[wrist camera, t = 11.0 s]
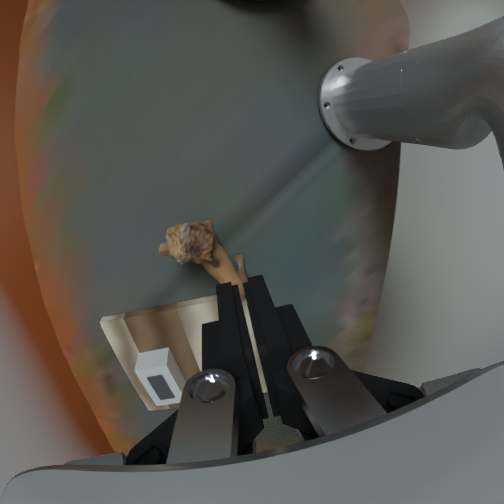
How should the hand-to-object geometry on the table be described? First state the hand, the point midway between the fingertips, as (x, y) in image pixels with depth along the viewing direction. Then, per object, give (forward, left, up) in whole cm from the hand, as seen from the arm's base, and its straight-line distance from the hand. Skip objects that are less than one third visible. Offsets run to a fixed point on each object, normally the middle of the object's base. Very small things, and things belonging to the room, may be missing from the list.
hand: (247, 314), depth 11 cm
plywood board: (+10, +24, -27) cm, 38 cm away
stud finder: (+15, +24, -26) cm, 38 cm away
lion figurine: (+3, +8, -27) cm, 28 cm away
